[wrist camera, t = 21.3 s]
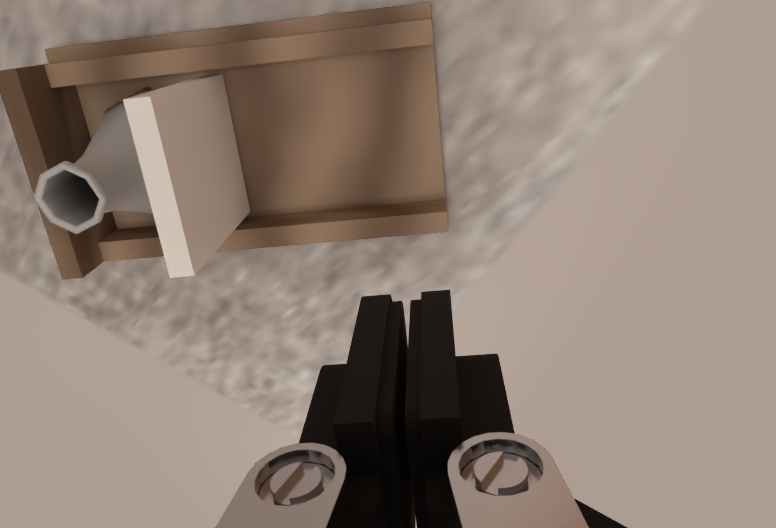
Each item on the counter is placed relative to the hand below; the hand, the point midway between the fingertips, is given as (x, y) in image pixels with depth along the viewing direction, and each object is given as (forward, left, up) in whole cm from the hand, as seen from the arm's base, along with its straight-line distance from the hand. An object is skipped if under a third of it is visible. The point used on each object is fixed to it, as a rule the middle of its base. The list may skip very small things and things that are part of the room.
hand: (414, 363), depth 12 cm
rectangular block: (-12, 0, -26) cm, 28 cm away
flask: (-16, 0, -26) cm, 31 cm away
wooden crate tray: (-10, 0, -27) cm, 29 cm away
